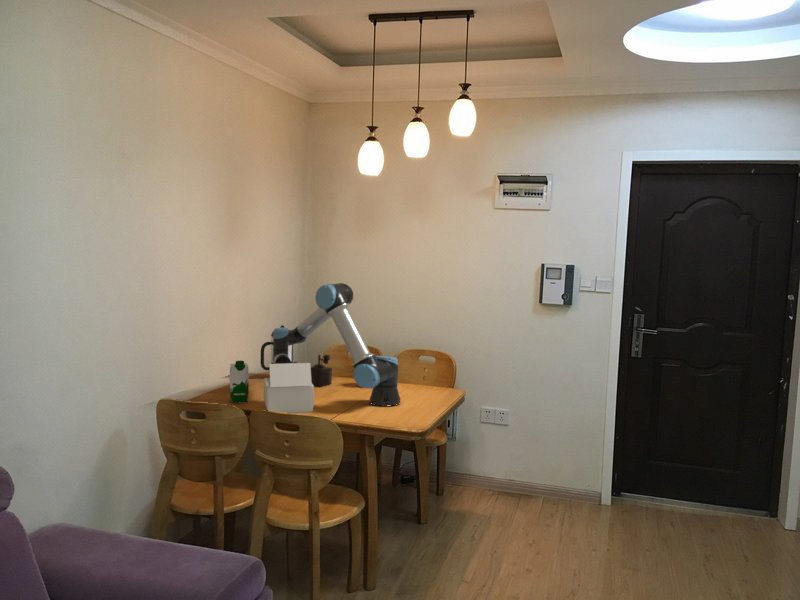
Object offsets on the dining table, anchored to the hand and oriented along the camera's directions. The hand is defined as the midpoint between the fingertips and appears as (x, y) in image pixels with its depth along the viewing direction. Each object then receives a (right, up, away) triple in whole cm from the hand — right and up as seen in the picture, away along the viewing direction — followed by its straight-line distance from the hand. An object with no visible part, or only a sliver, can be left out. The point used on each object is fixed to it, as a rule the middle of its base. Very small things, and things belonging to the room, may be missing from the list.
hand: (287, 371), depth 307 cm
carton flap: (+2, -1, -4) cm, 4 cm away
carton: (-1, -17, +6) cm, 18 cm away
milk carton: (-26, -16, +15) cm, 34 cm away
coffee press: (-16, -11, +71) cm, 73 cm away
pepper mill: (+9, -14, +54) cm, 57 cm away
